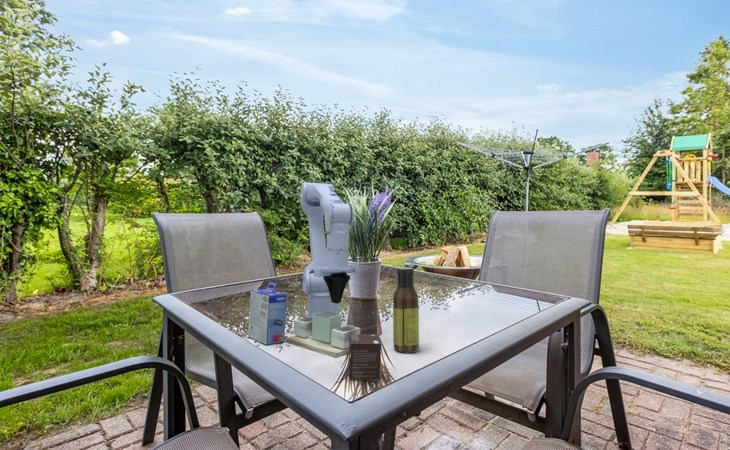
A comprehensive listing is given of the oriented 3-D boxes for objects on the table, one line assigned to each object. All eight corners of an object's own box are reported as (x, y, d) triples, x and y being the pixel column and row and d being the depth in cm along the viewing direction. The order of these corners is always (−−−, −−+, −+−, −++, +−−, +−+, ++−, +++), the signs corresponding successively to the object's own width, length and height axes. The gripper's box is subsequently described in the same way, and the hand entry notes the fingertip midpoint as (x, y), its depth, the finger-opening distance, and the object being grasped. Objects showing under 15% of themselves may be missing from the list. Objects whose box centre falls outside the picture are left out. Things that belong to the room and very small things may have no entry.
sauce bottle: (420, 347, 94) (423, 267, 94) (415, 355, 88) (418, 270, 88) (395, 344, 96) (397, 265, 96) (388, 351, 90) (391, 268, 90)
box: (347, 369, 79) (348, 333, 79) (376, 369, 79) (377, 333, 79) (349, 381, 73) (350, 342, 73) (380, 381, 73) (381, 342, 73)
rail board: (317, 333, 104) (317, 314, 104) (366, 346, 94) (366, 325, 94) (286, 342, 95) (286, 321, 95) (336, 357, 85) (336, 334, 85)
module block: (322, 334, 98) (323, 310, 98) (340, 339, 94) (341, 314, 94) (311, 337, 95) (312, 313, 95) (329, 342, 91) (330, 317, 91)
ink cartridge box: (286, 341, 96) (287, 284, 96) (266, 346, 92) (268, 286, 92) (266, 333, 103) (267, 279, 103) (247, 337, 99) (248, 281, 99)
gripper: (329, 251, 89) (327, 309, 89) (367, 249, 101) (365, 301, 101) (308, 250, 94) (306, 304, 94) (347, 248, 105) (345, 297, 105)
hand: (336, 302), depth 97 cm, fingers closed
